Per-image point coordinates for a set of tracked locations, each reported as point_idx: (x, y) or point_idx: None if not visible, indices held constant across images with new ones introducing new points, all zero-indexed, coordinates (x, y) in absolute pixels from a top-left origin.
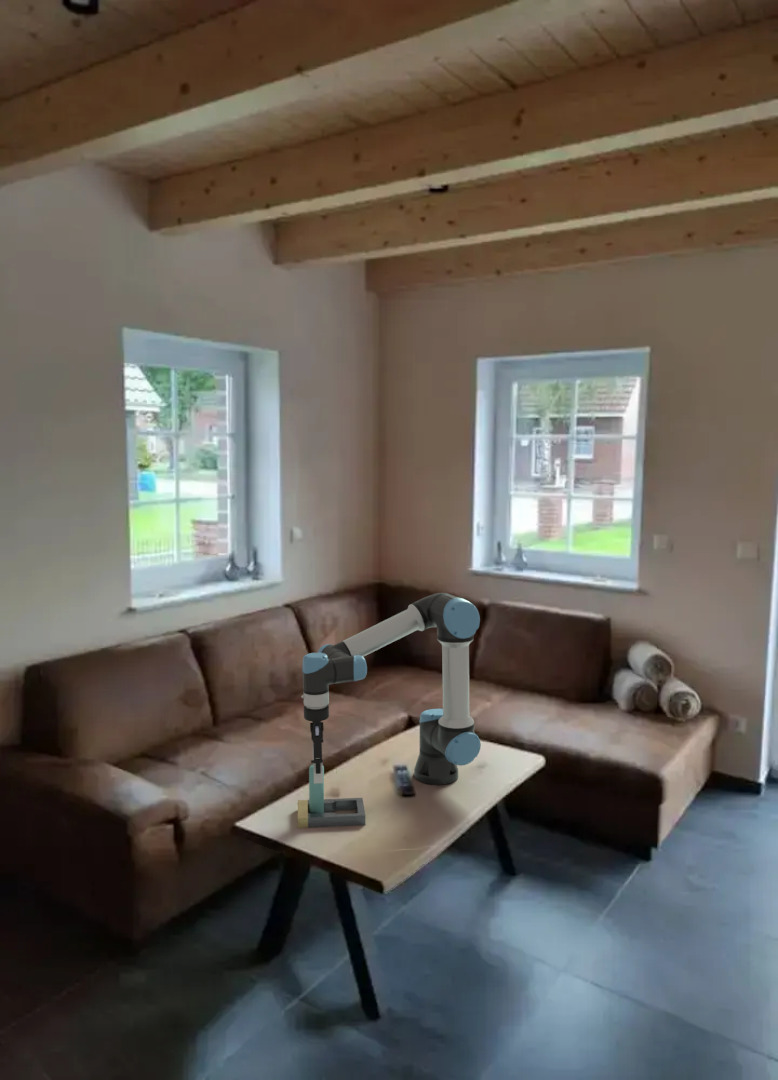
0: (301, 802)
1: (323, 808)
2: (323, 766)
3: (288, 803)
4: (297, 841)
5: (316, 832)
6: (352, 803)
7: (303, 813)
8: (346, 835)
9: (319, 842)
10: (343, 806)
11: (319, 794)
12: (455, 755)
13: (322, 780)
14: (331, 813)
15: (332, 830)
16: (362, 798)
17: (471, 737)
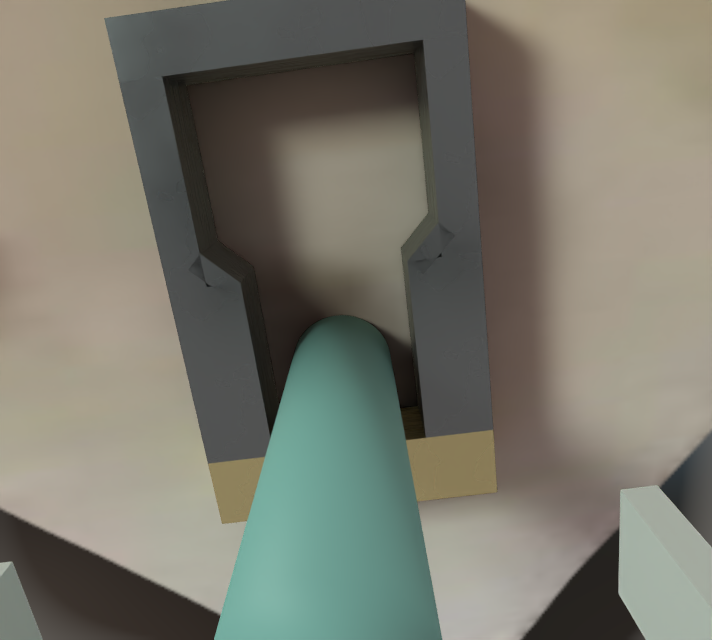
0: (253, 498)
1: (354, 340)
2: (290, 582)
3: (149, 544)
4: (638, 435)
5: (533, 340)
6: (178, 114)
7: (424, 465)
8: (590, 134)
9: (667, 308)
10: (199, 189)
11: (398, 425)
12: None
13: (677, 516)
14: (425, 271)
15: (511, 240)
16: (121, 16)
17: None
